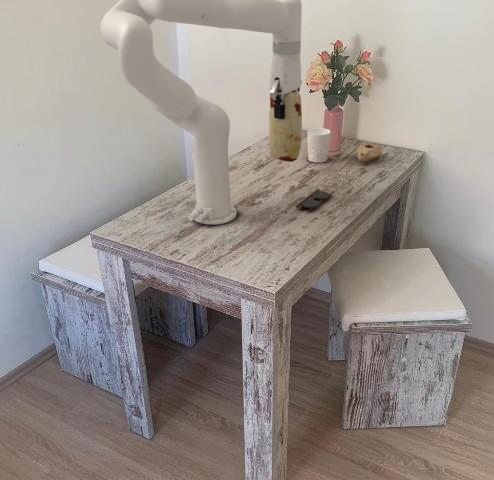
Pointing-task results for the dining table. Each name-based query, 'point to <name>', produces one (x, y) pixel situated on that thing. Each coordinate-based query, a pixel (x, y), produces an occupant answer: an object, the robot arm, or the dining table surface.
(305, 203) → the sunglasses
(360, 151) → the pottery oil lamp
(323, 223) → the dining table surface
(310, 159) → the white cup
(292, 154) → the food model
